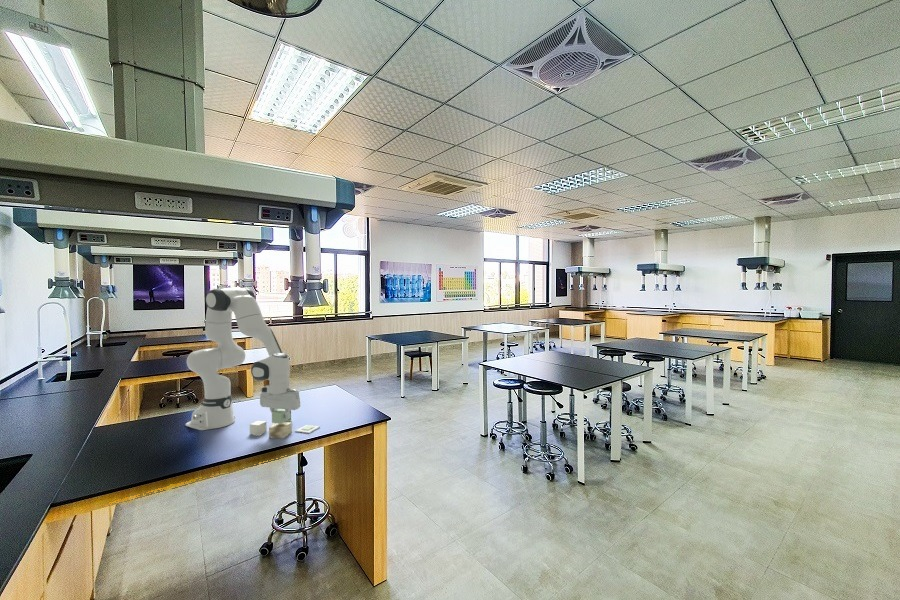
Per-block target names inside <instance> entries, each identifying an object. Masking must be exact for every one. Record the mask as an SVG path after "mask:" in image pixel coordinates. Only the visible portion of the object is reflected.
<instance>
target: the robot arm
mask: <svg viewBox="0 0 900 600" xmlns="http://www.w3.org/2000/svg"><path fill="white" fill-rule="evenodd" d="M205 304H206V306H207V309H206V314H205V323H204V324H205V326H204V327H205V328H204V329H205V330H204V331H205V332H204V335H205V337H206V339H208V340H209V341H211V342H214V343H216V344H217V347H211V348H210V347H209V348H203V349H202V348H201V349H198V350H195V351H192V352H190V353H189V354H188V356H187V358H186V365H187V368H188V369H189V370H190V371H192V372H193V373H195V374H197V375H198V376H199V377H200V378H201V380H202V383H203V388H204V397H203V398H202V399H200V402H202V403H201V405H200V406H199V407H198V408H196V409H195V410H193V412H192V413H191V420H190V421H188V422H186V423H185V426H186V427H189V428H191V429H195V430H198V431H208V430H212V429H214V430H215V429H220V428H224V427H227V426H230V425H232V424H234V423H235V422H236V420H235V419H236V417H235V415H234V407H233V404H232V400H233V399H232V398H233V397H232V394H231V392H232V391H231V380H230V378H228V377H227V376H225V375H223V374H222V375H221V374H219V373H218V371H219V370H222V369H229V368H234V367H237V366H240V365H242V364H243V363H244V362H245V360H246V352H245V350H244V349H243V347H241V345H238V344H237V343H236V342H235V340H234V339H233V333H232V321H233V320H232V318H233V317H232V315H233V314H232V313H234V315H235V321H236V326H237V327H238V329H239V331H240V333H241V334H243V335H244V336H247V337H250V338H252V339H253V338H254V339H257V340H259V341H260V342H261V343H263V345H264V347H265V349H266V351H267V354H268V357H266V358H263V359H260V360H257V361H256V362H254V363H253V364H252V365H251V369H250V373H251V376H252V378H253V379H254V380H255V381H258V382H262V381H267V380H268V381H269V382H268V383H269V384H267V385H264V386H262V387H260V388H259V389H260V390H259V391H260V394H259V405H260V406H261V408H262V407H263V408H269V411H270V412H271V414H272V412H273V411H275V408H279V409H285V411H286V413H285V414H284V415H283V416H284V417H283V418H288V417H289V413H290V411H291V412H292V411H295V410H298V409H299V408H300V407H301V398H300V392H299V390H297V389H295V388H293V389H292V388H291V378H290V374H291V362H290V358H289V356H288V354H286V353H284V352H283V351H282V349H281V347H280V344H279V342H278V339H277V338H276V336H275V333H274V331H273V330H272V328H271V327H269V325H268V324H267V323H266V321H265V320H264V316H263V314H262V311H261V309H260V306H259V304H258V302H257V300H256V298H255V293H254V292H253V290H252V289H250V288H248V287H234V286H232V287H231V286H230V287H224V288H213V289H211V290H209V291H208V292H207V293H206V295H205Z"/></svg>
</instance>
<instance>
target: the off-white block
mask: <svg viewBox="0 0 900 600" xmlns="http://www.w3.org/2000/svg"><path fill="white" fill-rule="evenodd" d="M267 430H268V429H267V421H265V420H264V421H262V420H256V421H254V422H252V423H250V424H249V435H250V434H253V435H252V436H257V435H259V436H261V435H263V434H264V432H265V433H267V432H266V431H267ZM262 433H263V434H262ZM260 434H261V435H260Z"/></svg>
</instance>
